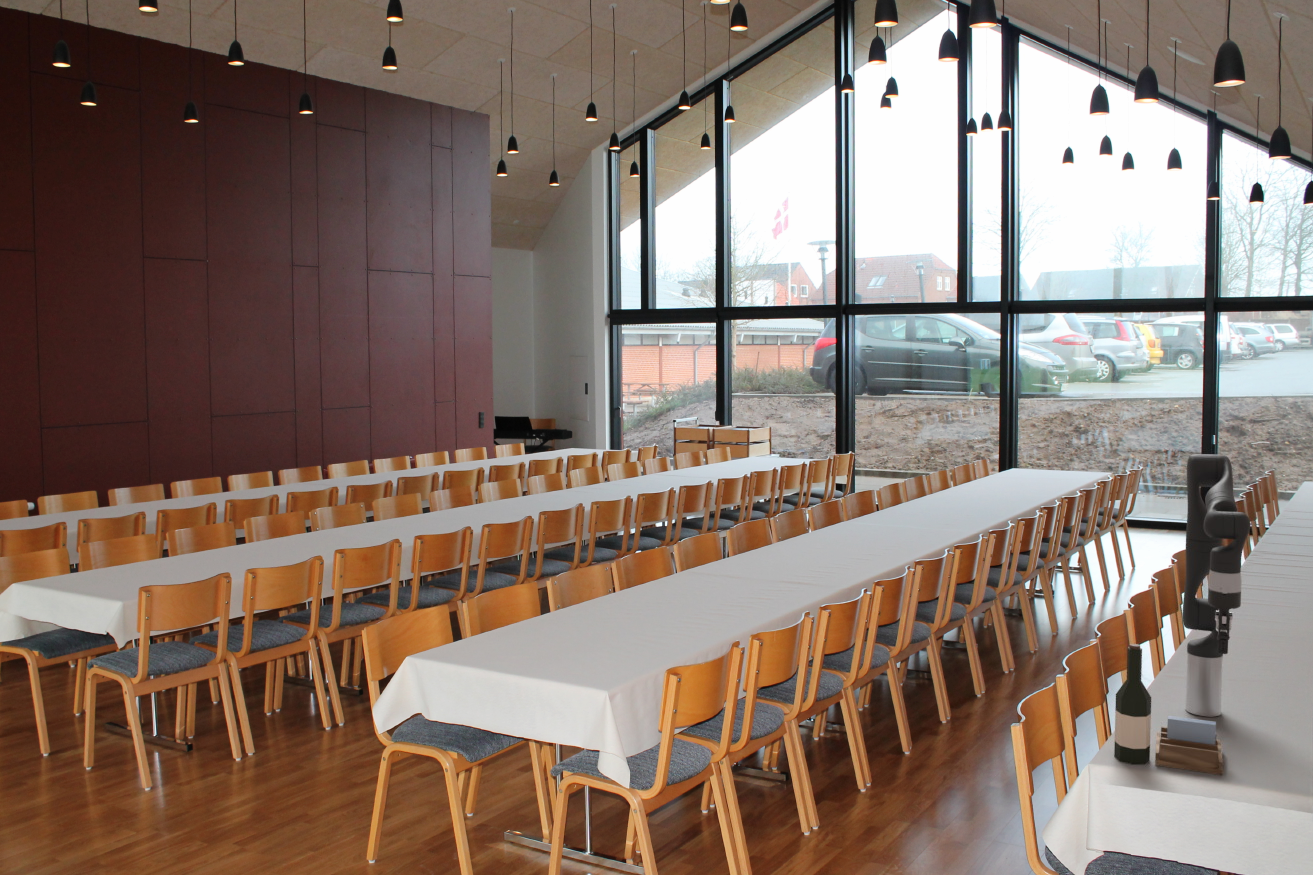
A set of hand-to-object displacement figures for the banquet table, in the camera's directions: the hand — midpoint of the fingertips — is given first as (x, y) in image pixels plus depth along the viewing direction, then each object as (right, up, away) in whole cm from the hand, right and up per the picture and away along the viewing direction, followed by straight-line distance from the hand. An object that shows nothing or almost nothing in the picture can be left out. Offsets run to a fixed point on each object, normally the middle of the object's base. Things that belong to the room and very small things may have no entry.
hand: (1222, 648), depth 273 cm
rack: (-10, -28, -3) cm, 30 cm away
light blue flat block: (-10, -27, -3) cm, 29 cm away
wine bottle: (-25, -28, -2) cm, 37 cm away
